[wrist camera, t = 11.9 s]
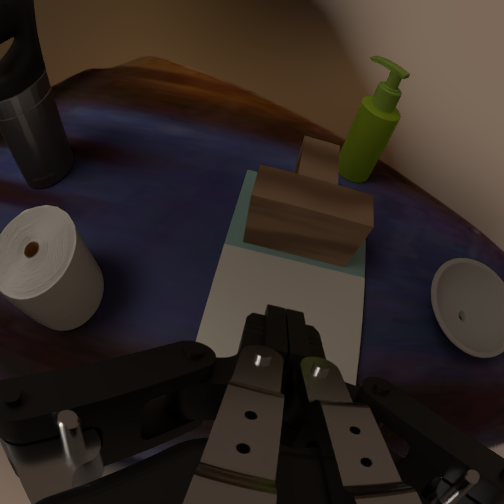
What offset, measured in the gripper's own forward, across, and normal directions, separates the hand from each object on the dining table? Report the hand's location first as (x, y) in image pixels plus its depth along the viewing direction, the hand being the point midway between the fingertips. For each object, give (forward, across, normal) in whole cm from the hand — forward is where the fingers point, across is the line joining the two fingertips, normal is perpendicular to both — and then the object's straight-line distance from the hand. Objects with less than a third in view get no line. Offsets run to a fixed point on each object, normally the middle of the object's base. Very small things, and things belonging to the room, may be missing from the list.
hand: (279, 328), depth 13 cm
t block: (+31, +3, +1) cm, 31 cm away
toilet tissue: (+19, -23, -13) cm, 32 cm away
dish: (+25, +29, -6) cm, 39 cm away
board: (+25, +4, -6) cm, 26 cm away
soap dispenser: (+41, +10, +10) cm, 44 cm away
